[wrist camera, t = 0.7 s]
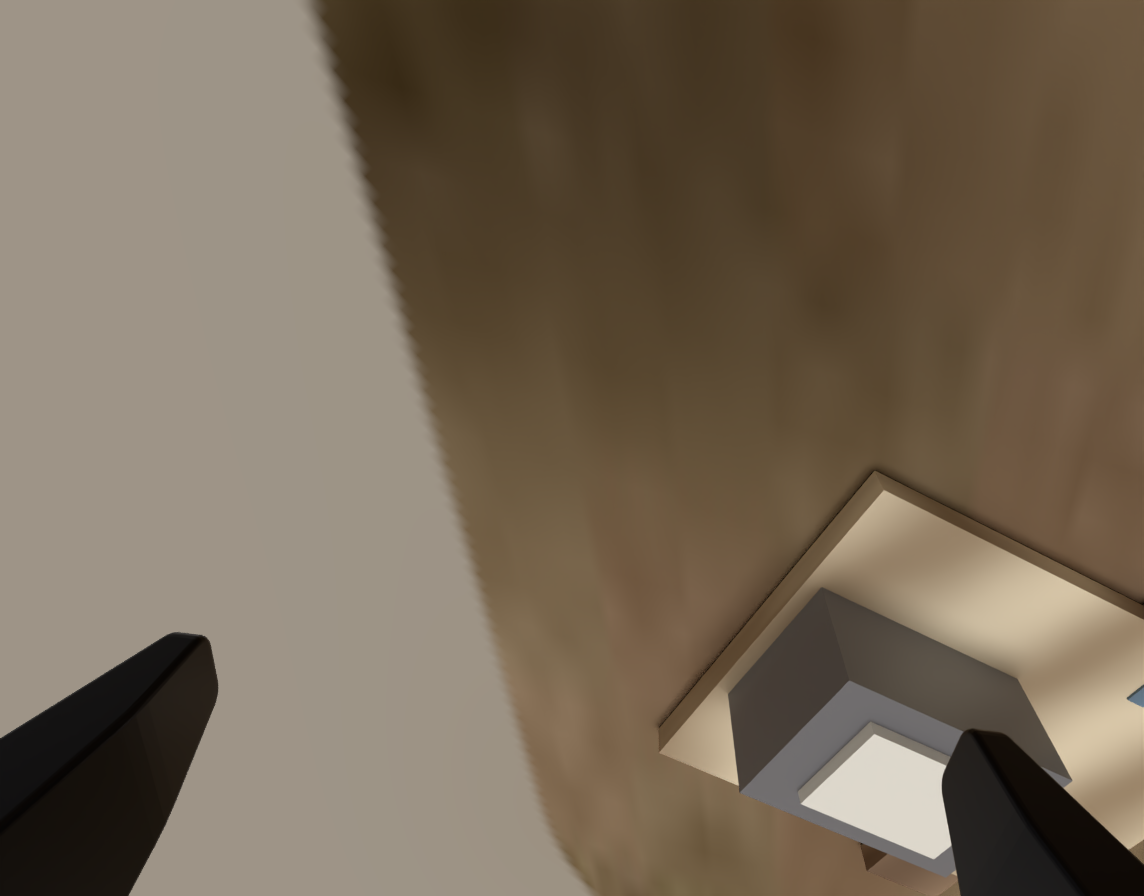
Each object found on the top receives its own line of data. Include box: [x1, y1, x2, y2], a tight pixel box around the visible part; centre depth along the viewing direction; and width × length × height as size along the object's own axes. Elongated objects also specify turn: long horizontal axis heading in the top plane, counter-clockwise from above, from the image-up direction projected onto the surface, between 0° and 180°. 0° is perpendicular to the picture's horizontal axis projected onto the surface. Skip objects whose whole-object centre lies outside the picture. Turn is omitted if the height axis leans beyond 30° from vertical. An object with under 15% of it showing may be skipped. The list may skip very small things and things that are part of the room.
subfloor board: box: [659, 471, 1144, 896], centre depth 26 cm, size 16×15×1 cm
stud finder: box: [728, 587, 1073, 878], centre depth 23 cm, size 7×5×4 cm
